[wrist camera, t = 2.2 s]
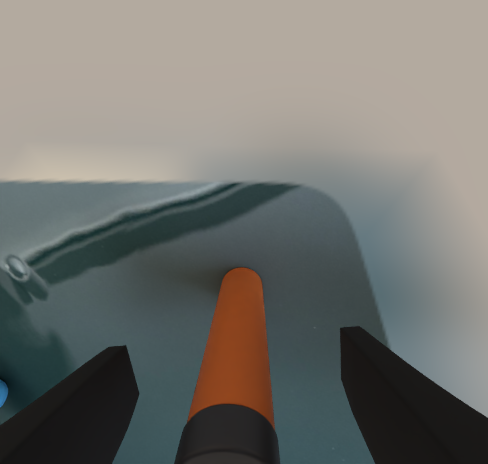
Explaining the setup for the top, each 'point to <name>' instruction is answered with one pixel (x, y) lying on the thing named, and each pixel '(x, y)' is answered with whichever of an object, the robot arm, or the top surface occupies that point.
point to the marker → (233, 383)
